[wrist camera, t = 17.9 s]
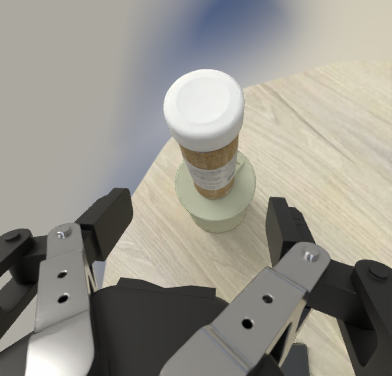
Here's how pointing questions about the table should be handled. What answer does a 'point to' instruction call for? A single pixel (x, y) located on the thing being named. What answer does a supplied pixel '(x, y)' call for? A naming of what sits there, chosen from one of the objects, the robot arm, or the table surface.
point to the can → (221, 207)
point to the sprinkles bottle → (207, 127)
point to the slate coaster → (296, 361)
